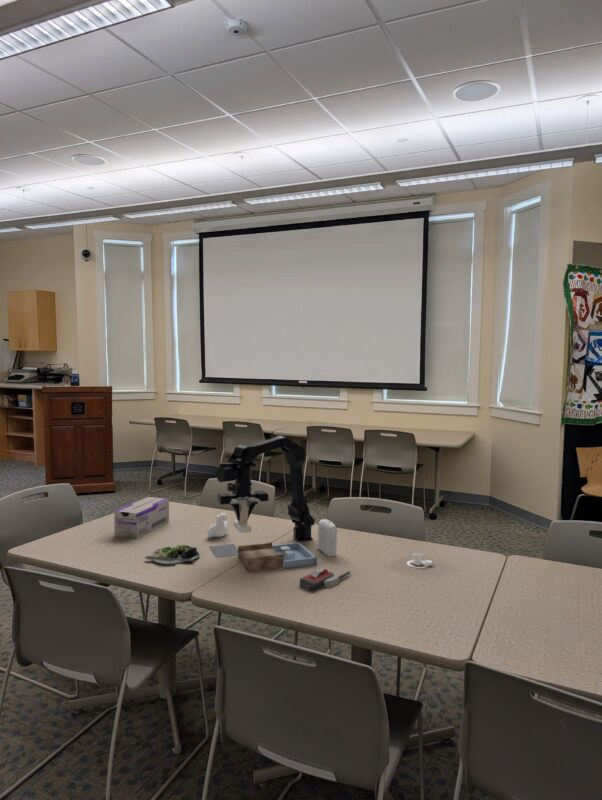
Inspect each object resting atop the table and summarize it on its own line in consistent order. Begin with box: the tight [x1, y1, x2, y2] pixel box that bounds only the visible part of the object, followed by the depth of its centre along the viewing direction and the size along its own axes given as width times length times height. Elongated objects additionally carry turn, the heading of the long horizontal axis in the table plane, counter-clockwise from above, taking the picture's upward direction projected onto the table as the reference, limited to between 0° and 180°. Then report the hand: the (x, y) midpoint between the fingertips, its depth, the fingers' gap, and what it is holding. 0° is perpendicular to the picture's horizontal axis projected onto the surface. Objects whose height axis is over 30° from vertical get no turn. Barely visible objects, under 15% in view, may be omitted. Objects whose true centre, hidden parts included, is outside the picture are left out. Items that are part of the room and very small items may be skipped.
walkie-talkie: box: [299, 567, 351, 592], centre depth 184 cm, size 9×4×20 cm
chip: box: [280, 546, 290, 557], centre depth 206 cm, size 3×3×3 cm
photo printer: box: [317, 518, 338, 557], centre depth 212 cm, size 10×4×12 cm, turn 23°
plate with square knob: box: [232, 503, 252, 534], centre depth 207 cm, size 4×10×9 cm, turn 23°
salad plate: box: [145, 544, 200, 566], centre depth 203 cm, size 19×18×5 cm
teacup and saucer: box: [406, 552, 433, 569], centre depth 200 cm, size 9×8×4 cm
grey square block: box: [285, 551, 295, 560], centre depth 202 cm, size 3×3×3 cm
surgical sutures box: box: [113, 496, 170, 539], centre depth 238 cm, size 25×11×11 cm, turn 163°
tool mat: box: [208, 543, 238, 559], centre depth 211 cm, size 10×13×1 cm
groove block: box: [237, 542, 284, 572], centre depth 200 cm, size 13×14×4 cm
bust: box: [206, 512, 230, 539], centre depth 229 cm, size 12×8×11 cm
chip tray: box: [272, 541, 318, 569], centre depth 205 cm, size 12×18×3 cm, turn 21°
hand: (242, 519), depth 207 cm, fingers closed on plate with square knob, 3 cm apart
